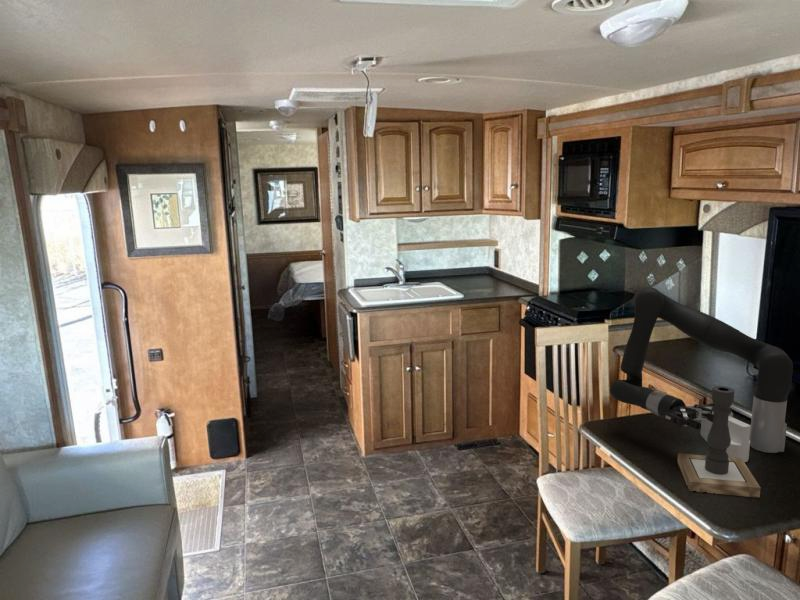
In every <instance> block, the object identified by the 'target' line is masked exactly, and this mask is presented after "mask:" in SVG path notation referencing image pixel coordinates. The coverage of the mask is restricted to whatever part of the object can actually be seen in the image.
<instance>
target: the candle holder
mask: <svg viewBox="0 0 800 600" xmlns="http://www.w3.org/2000/svg"><path fill="white" fill-rule="evenodd" d="M711 390H712V391H711V400H712V403H713V406H711V407H712V411H713V413H714V417H713V424H712V426H711V429H710V432H709V435H708V437H707V441H708V442H707V443H708V445H709V449H708V450H707V452H706V455H705V456H706V459H705V469H706V470H707V471H708V472H711V473H713V474H719V475H723V474H727V473H728V468H729V460H728V457H729V456H728V454H727V452H726V450H727V448H728V447H729V446H730V443H731V438H730V433H729V427H728V418H729V414H731V412H732V413H733V411H732V409H731V406H732V405H733V403H734V401H735V389H734V388H732V387H729V386H724V385H715V386H713V387H712V389H711Z"/></svg>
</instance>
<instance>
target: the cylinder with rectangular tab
mask: <svg viewBox="0 0 800 600" xmlns="http://www.w3.org/2000/svg"><path fill="white" fill-rule="evenodd" d="M728 427H729V433H730V438H731V443H730V446H729V447H728V448H727V450H726V452H727V454H728V456H729V457H730V458H742V460H743V461H744V463H745V464H746V462H747V463H748V461H749V457H750V447H751V446H750V440H749V438H750V428H751V424H748V423H746V422H744V421H741V420H739V419H737V418H735V417H734V416H733V417H730V416H729V418H728Z"/></svg>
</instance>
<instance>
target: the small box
mask: <svg viewBox="0 0 800 600" xmlns="http://www.w3.org/2000/svg"><path fill="white" fill-rule="evenodd" d="M704 407H705V408H708V409H711V410H712V407H713V406H704ZM712 414H714V413H713V412H712ZM729 416H730V417H733V418H734V412H733V411H732V412H731V414H729ZM703 417H705V416H703ZM700 423H701V429H700V436H701V437H702V438H703V440H704V441H705V442H707V443H708V441H707V437H708V435H709V432H710V429H711V426H712V424H713V422H711V421H708V420H704V419H701V420H700Z"/></svg>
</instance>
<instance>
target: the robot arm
mask: <svg viewBox="0 0 800 600" xmlns="http://www.w3.org/2000/svg"><path fill="white" fill-rule="evenodd" d="M633 304H634V305H633V306H634V318H633V324H632V329H631V332H630V335H629V338H628V340H627V342H626V345H625V348H624V351H623V355H622V359H621V363H620V370H621V372H623V373H624V374H625V375H626V376H625V377H626V378H625V379H616V380H614V381H613V382H611V384H610V386H609V393H610V395H611V396H612V398H613V399H614V400H617V401H618V402H620V403H626V404H628V405H633V406H637V407H639V408H641V409H644V410H645V411H648V412H650V413H652V414H653V415H655V416H658V417H661V418H663V419H665V421H666V422H667V423H671V424H673V425H675V426H677V427H679V428H681V427H683V426H684V427H689V428H693V429H694V430H696V431H701V419H704V420H708V421H711V422H713V417H714V414H712V412H713V411H712V410H711V409H708V408H705V407H706V406H703V405H699V404H694V405H693V407H692V406H691V405H686V403H685V402H684V400H682V399H681V398H679V397H676V396H673V395H671V394H668V393H666V392H661V391H658V390H655V389H653V388H650V387H645V386H643V369H644V365H645V362H646V357H647V353H648V349H649V344H650V340H651V337H652V333H653V330H654V327H655V326H656V323H657V320H658V319H660V320H663V321H665V322H667V323H669V324H671V325H672V326H673V327H675V328H676V329H678V330H679V331H681V332H682V333H683V334H685V335H687V336H689V337H690V338H692V339H693V340H695V341H697V342H698V343H701V344H703V345H705V346H706V347H709V348H711V349H714V350H717V351H721V352H724V353H728V354H732V355H735V356H738V357H739V358H742V359H743V360H745V361H747V362H748V363H750V364H752V365H753V366H755V367H756V369H758V373H757V382H756V385H755V386H754V391H753V397H752V399H753V400H752V410H751V420H750V425H751V428H750V438H749V440H750V447H751V448H752V449H753V450H756V451H758V452H759V451H760V452H763V453H768V454H770V453H771V454H776V453H784V452H785V445H786V444H785V443H786V437H787V436H786V435H787V428H788V427H787V426H788V424H787V423H786V422H785V421H786V414H787V403H788V396H789V394H790V391H791V387H792V380H793V372H794V363H793V361H792V359H791V358H790V356H789V355H788V354H787V353H786V352H785V351H784V350H783V349H781V348H780V347H777V346H774V345H772V344H769V343H767V342H764V341H760V340H758V339H755V338H753V337H751V336H749V335H747V334H745V333H744V332H742V331H741V330H738V329H737V328H735V327H734V326H731V325H729V324H727V323H726V322H725V321H722V320H721V319H718V318H716V317H714V316H712V315H710V314H708V313H705V312H702V311H700V310H698V309H696V308H693V307H689V306H687V305H684V304H682V303H680V302H678V301H676V300H674V299H672V298H671V297H669V296H668V295H666V294H664V293H663V292H662V291H660V290H658V289H657V288H655V287H652V286H644V287H641V288H639V289H638V290H636V291H635V293H634V296H633ZM697 415H698V416H697ZM703 416H705V417H703Z"/></svg>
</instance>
